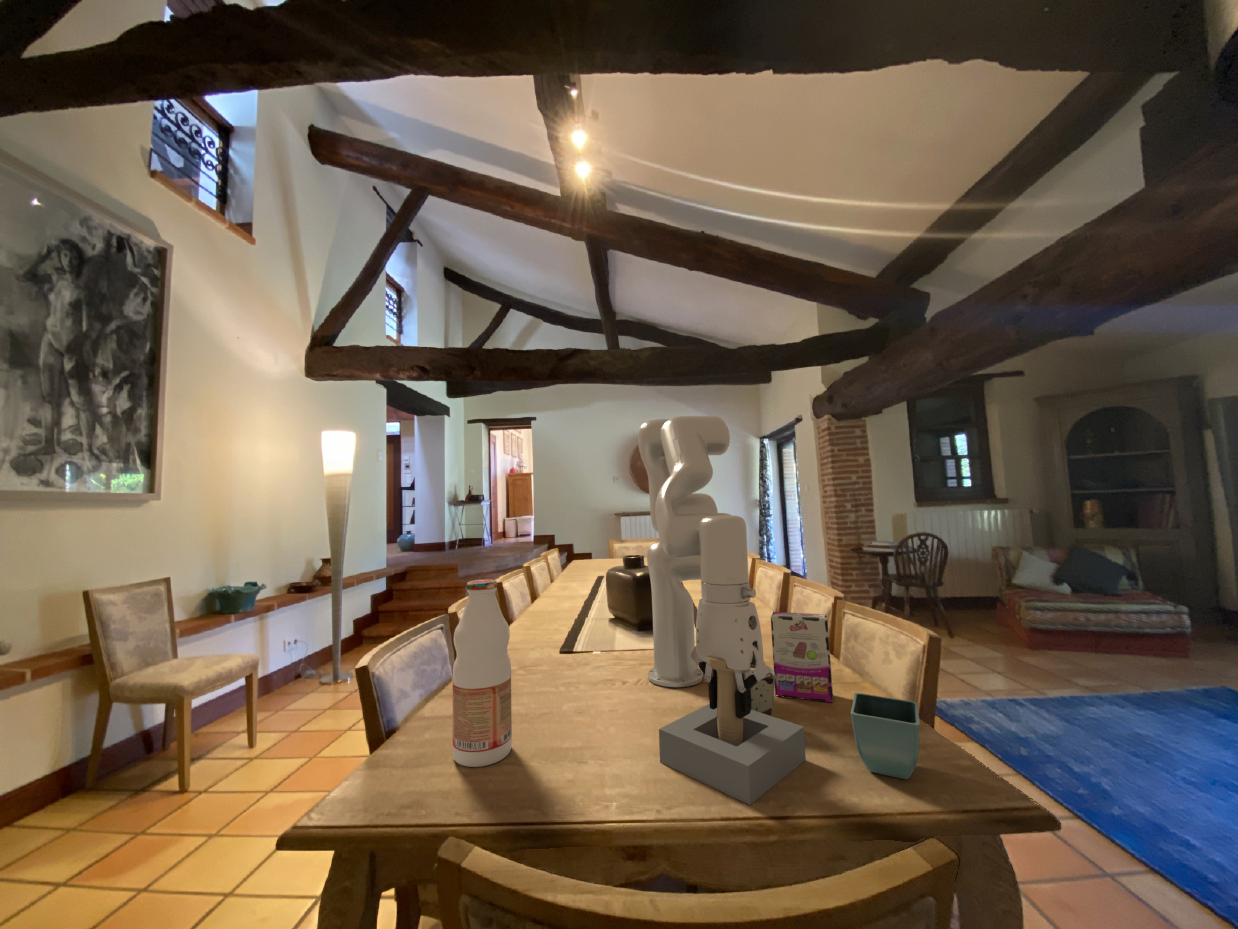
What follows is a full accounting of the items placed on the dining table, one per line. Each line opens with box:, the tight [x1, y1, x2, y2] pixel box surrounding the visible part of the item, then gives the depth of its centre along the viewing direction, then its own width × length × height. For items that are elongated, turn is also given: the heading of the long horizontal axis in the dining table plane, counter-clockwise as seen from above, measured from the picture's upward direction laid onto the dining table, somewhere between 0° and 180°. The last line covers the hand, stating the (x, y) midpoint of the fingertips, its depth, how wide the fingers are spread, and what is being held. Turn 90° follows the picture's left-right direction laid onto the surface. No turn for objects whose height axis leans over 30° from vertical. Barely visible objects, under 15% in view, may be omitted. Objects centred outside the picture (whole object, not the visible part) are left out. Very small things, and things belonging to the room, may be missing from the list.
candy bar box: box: [770, 611, 834, 703], centre depth 102 cm, size 11×5×16 cm, turn 68°
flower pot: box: [850, 692, 921, 780], centre depth 74 cm, size 9×9×9 cm
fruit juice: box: [452, 578, 513, 768], centre depth 82 cm, size 9×9×28 cm
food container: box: [744, 664, 778, 717], centre depth 91 cm, size 12×6×10 cm, turn 65°
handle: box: [707, 656, 743, 746], centre depth 78 cm, size 5×6×15 cm
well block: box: [658, 703, 807, 806], centre depth 77 cm, size 16×16×5 cm
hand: (730, 709), depth 78 cm, fingers open, 4 cm apart
